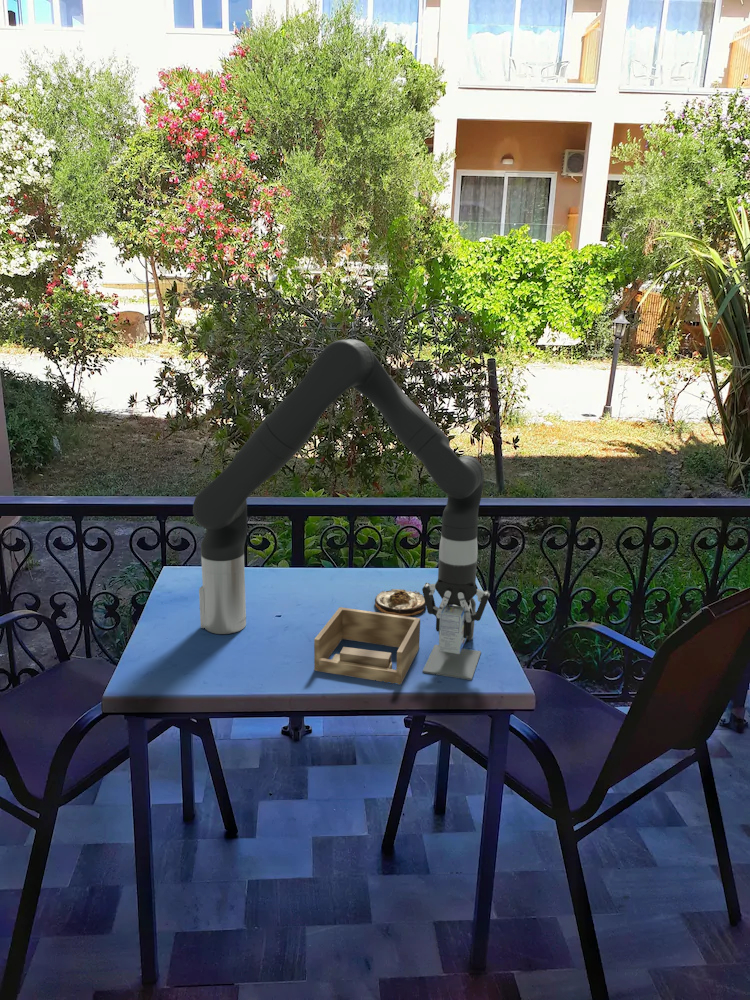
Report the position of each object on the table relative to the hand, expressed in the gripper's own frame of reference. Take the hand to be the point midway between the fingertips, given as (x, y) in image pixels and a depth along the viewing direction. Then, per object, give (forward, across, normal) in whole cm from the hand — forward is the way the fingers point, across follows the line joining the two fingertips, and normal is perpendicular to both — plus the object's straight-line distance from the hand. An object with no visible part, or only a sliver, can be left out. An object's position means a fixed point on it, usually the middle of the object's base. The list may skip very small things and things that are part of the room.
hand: (453, 634), depth 165 cm
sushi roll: (+7, -17, +24) cm, 30 cm away
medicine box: (+3, 0, 0) cm, 3 cm away
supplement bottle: (+7, -1, +12) cm, 14 cm away
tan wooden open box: (+6, -17, -4) cm, 19 cm away
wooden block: (+6, -17, -9) cm, 20 cm away
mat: (+6, 0, 0) cm, 6 cm away
